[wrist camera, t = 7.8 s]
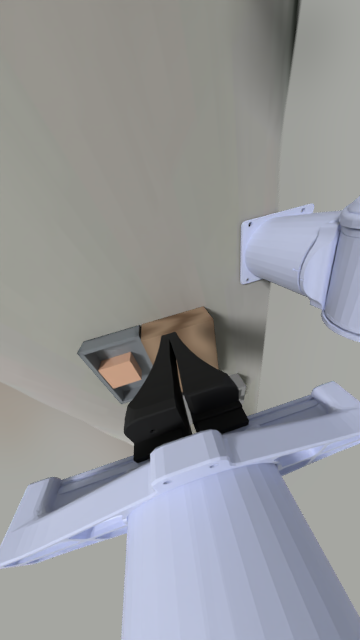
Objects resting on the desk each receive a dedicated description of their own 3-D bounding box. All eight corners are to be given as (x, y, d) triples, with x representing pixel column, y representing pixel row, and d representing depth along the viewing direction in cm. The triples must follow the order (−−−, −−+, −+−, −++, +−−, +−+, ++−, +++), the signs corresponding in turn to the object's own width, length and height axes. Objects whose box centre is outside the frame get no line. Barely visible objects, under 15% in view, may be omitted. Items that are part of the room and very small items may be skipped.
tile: (98, 370, 22) (101, 360, 24) (113, 388, 25) (115, 378, 27) (129, 360, 23) (130, 351, 24) (141, 379, 25) (141, 370, 27)
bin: (139, 325, 23) (138, 335, 20) (163, 378, 30) (165, 390, 28) (83, 341, 22) (76, 353, 20) (122, 391, 30) (121, 404, 28)
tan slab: (203, 306, 23) (213, 319, 20) (211, 363, 31) (219, 380, 27) (141, 324, 23) (141, 341, 19) (165, 378, 30) (168, 396, 27)
